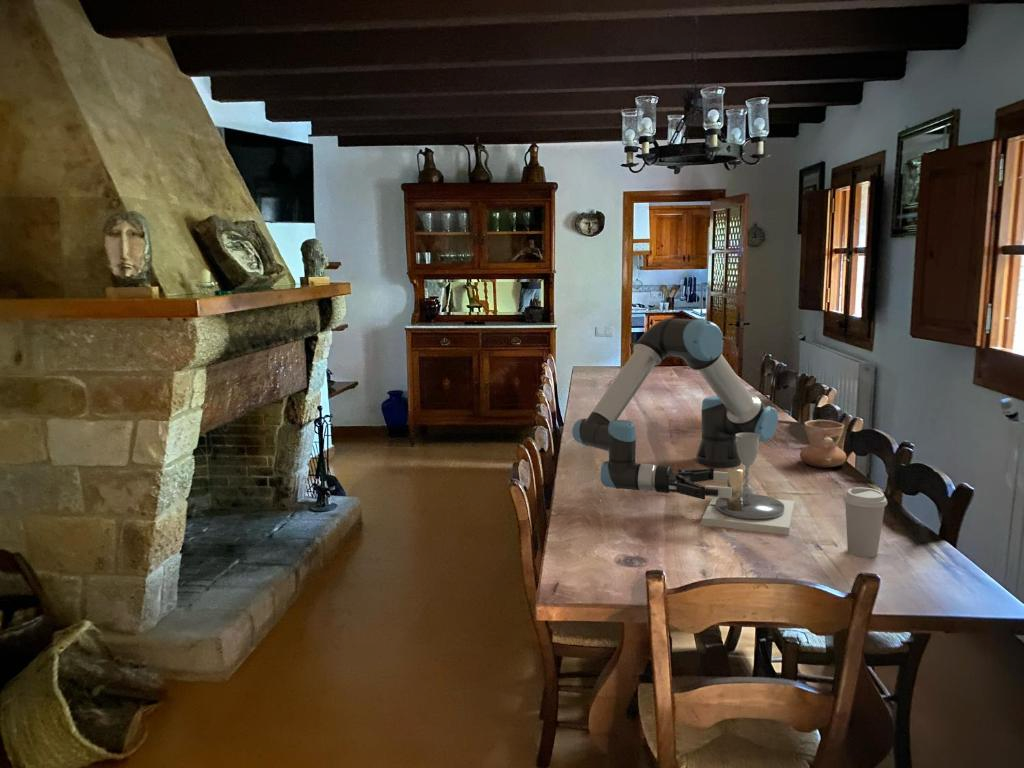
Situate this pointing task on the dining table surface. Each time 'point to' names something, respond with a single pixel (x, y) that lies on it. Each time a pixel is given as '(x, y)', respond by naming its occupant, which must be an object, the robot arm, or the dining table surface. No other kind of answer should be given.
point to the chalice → (747, 455)
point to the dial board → (767, 525)
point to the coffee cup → (864, 520)
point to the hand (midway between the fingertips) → (735, 485)
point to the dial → (747, 501)
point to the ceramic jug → (823, 444)
